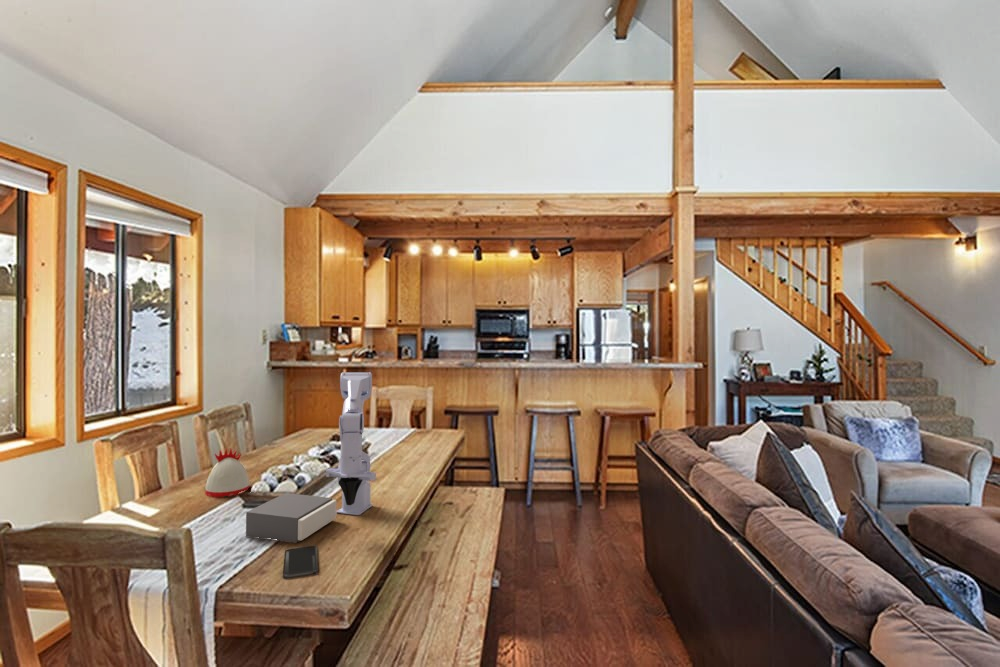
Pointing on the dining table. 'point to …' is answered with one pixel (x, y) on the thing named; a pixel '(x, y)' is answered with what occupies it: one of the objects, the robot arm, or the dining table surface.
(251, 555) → the dining table surface
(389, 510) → the dining table surface
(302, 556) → the phone
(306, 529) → the tray
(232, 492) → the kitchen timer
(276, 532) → the box housing
